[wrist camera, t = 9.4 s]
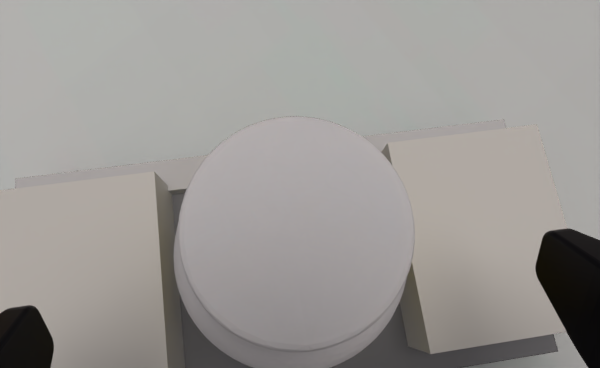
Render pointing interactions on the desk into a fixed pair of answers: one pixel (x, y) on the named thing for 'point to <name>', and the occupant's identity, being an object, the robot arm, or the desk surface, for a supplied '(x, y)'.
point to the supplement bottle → (293, 244)
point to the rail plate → (418, 288)
